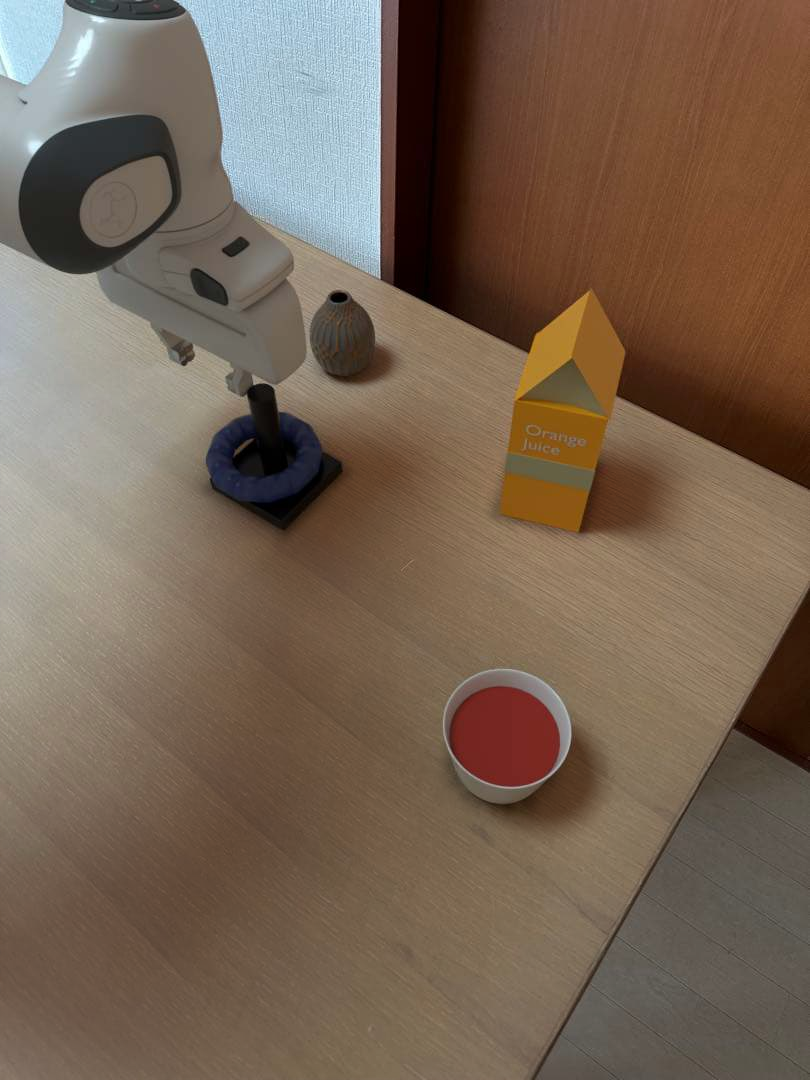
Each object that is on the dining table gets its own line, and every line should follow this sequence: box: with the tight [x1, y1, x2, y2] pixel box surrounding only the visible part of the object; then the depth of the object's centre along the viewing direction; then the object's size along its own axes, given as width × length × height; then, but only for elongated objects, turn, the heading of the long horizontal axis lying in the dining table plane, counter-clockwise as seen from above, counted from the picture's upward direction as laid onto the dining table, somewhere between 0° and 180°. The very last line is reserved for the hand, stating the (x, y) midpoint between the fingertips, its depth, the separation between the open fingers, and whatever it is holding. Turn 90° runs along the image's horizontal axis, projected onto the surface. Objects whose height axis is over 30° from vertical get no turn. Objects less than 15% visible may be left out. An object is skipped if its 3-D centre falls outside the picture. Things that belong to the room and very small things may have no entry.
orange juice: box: [499, 287, 626, 533], centre depth 72 cm, size 8×9×20 cm
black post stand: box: [209, 382, 344, 532], centre depth 76 cm, size 9×9×12 cm
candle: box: [442, 668, 572, 805], centre depth 61 cm, size 9×9×6 cm
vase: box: [309, 289, 376, 377], centre depth 87 cm, size 7×7×9 cm
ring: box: [204, 411, 324, 503], centre depth 79 cm, size 11×11×2 cm
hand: (211, 374), depth 73 cm, fingers open, 5 cm apart
